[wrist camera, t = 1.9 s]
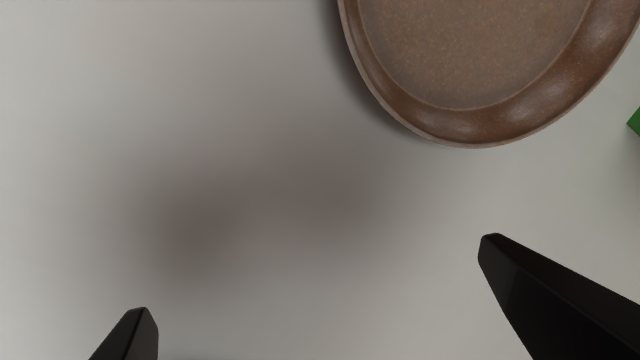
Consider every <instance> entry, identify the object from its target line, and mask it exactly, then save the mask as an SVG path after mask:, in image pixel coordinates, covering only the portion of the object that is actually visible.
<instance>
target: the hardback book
mask: <svg viewBox="0 0 640 360" xmlns="http://www.w3.org/2000/svg"><path fill="white" fill-rule="evenodd" d="M627 124H628V125H629V126H630V127H631V128H632V129H633V130H634V131H635V132H636V133H637V134H638V135H639V136H640V107H639V108H638V109H637V111H636V112H635V113H634V114H633V116H632V117H631V118H630V119H629V120H628V122H627Z"/></svg>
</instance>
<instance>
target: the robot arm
mask: <svg viewBox="0 0 640 360" xmlns="http://www.w3.org/2000/svg"><path fill="white" fill-rule="evenodd" d="M478 262H479V265H480V267H481V269H482V271H483V273H484V275H485V277H486V279H487V281H488V283H489V285H490V287H491V289H492V291H493V293H494V295H495V297H496V299H497V301H498V303H499V305H500V307H501V309H502V311H503V313H504V314H505V316H506V318H507V319H508V321H509V323H510V324H511V326H512V327H513V329H514V330H515V332H516V334H517V335H518V337H519V338H520V340H521V341H522V343H523V345H524V346H525V348H526V349H527V351H528V352H529V354H530V355H531V357H532V359H533V360H640V305H639V304H637V303H635V302H633V301H631V300H629V299H627V298H625V297H623V296H621V295H619V294H618V293H616V292H614V291H612V290H610V289H608V288H606V287H604V286H602V285H600V284H598V283H596V282H594V281H592V280H590V279H588V278H586V277H584V276H582V275H580V274H578V273H576V272H574V271H572V270H570V269H568V268H566V267H564V266H563V265H561V264H559V263H557V262H555V261H553V260H551V259H549V258H547V257H545V256H543V255H541V254H539V253H537V252H535V251H533V250H531V249H529V248H527V247H525V246H523V245H521V244H519V243H517V242H515V241H513V240H511V239H510V238H508V237H506V236H504V235H502V234H499V233H491V234H487V235H484V236H483V237H482V238H481V242H480V247H479V252H478ZM158 337H159V333H158V328H157V325H156V323H155V321H154V319H153V318H152V316H151V314H150V312H149V310H148V309H147V308H146V307H140V308H135V309H130V310H128V311H127V312H126V313H125V314H124V316H123V317H122V318H121V319H120V321H119V322H118V323H117V324H116V326H115V327H114V328H113V329H112V331H111V332H110V333H109V334H108V336H107V337H106V338H105V339H104V341H103V342H102V343H101V344H100V346H99V347H98V348H97V349H96V351H95V352H94V353H93V354H92V356H91V357H90V358H89V359H88V360H158Z"/></svg>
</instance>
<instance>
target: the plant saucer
mask: <svg viewBox="0 0 640 360" xmlns="http://www.w3.org/2000/svg"><path fill="white" fill-rule="evenodd" d="M337 3H338V9H339V14H340V19H341V23H342V27H343V31H344V35H345V38H346V41H347V44H348V47H349V50H350V52H351V55H352V57H353V60H354V62H355V65H356V67H357V69H358V71H359V73H360V75H361V77H362V78H363V80H364V82H365V84H366V85H367V87H368V89H369V90H370V91H371V93H372V94H373V96H374V97H375V98H376V99H377V101H378V102H379V103H380V104H381V106H382V107H383V108H384V109H385V110H386V111H387V112H388V113H389V114H390V115H391V116H392V117H393V118H394V119H396V120H397V121H398V122H399V123H401V124H402V125H403V126H405V127H406V128H408V129H409V130H411V131H412V132H414V133H416V134H418V135H420V136H422V137H424V138H426V139H428V140H431V141H433V142H436V143H439V144H443V145H447V146H452V147H458V148H474V149H476V148H489V147H496V146H500V145H504V144H508V143H512V142H515V141H518V140H521V139H523V138H525V137H528V136H530V135H532V134H535V133H537V132H539V131H541V130H542V129H544V128H546V127H547V126H549V125H551V124H553V123H554V122H556V121H557V120H558V119H560V118H561V117H563V116H564V115H566V114H567V113H568V112H569V111H571V110H572V109H573V108H574V107H576V106H577V105H578V104H579V103H580V102H581V101H582V100H583V99H584V98H585V97H586V96H587V95H588V94H589V93H590V92H591V91H593V89H594V88H595V87H596V86H597V85H598V84H599V83H600V82H601V81H602V79H603V78H604V77H605V76H606V75H607V74H608V72H609V71H610V70H611V69H612V67H613V66H614V65H615V63H616V61H617V60H618V59H619V58H620V56H621V55H622V53H623V51H624V50H625V48H626V47H627V45H628V44H629V42H630V40H631V39H632V37H633V35H634V33H635V32H636V30H637V28H638V26H639V24H640V0H337Z"/></svg>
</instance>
